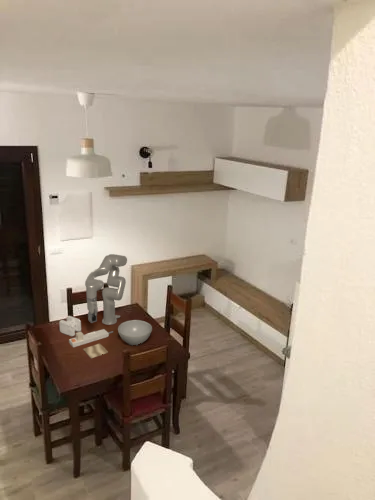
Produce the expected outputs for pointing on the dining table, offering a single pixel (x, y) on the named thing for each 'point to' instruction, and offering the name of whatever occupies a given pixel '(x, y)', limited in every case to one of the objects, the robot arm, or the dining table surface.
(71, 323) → the cable organizer
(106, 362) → the dining table surface
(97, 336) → the power strip
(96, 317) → the charger
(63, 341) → the dining table surface
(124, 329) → the decorative bowl
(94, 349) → the beige square cloth
